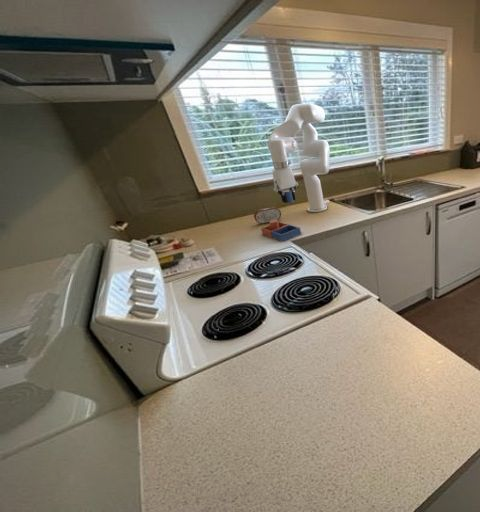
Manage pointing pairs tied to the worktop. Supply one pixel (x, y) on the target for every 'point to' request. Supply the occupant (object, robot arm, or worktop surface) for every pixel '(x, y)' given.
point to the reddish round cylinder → (274, 224)
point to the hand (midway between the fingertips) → (289, 200)
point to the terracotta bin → (268, 231)
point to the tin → (267, 215)
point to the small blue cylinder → (288, 196)
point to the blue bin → (286, 232)
